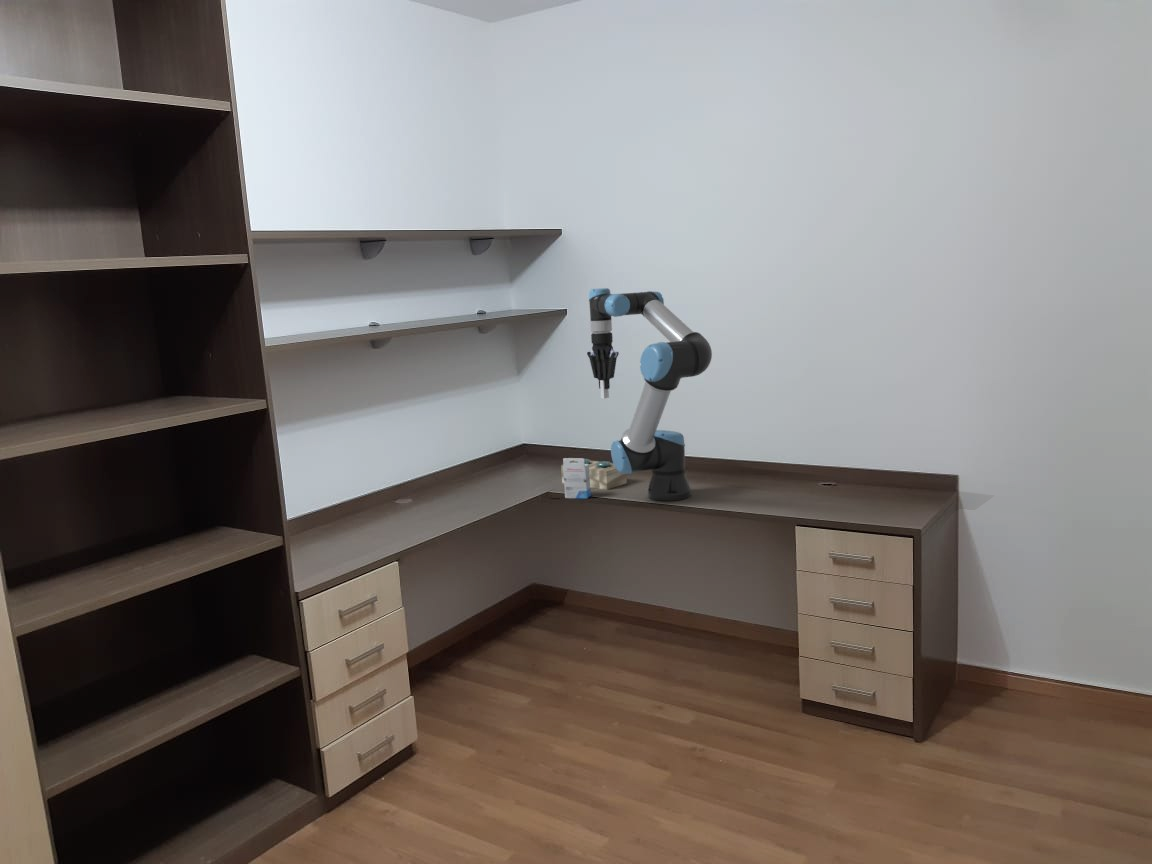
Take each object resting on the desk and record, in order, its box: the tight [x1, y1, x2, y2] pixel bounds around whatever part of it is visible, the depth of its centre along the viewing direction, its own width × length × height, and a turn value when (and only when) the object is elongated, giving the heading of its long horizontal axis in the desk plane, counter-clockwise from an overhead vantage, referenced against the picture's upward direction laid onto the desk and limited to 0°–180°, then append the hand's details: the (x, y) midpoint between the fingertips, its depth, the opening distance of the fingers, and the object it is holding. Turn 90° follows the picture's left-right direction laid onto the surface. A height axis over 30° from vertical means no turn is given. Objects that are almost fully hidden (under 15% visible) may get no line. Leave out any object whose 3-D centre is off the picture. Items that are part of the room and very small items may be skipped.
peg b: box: [597, 460, 611, 468], centre depth 341 cm, size 5×5×8 cm
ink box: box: [562, 457, 592, 500], centre depth 325 cm, size 9×5×15 cm, turn 71°
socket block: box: [560, 460, 628, 491], centre depth 345 cm, size 22×12×7 cm, turn 49°
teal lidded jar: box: [576, 458, 591, 464], centre depth 348 cm, size 5×5×8 cm
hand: (604, 397), depth 327 cm, fingers closed
